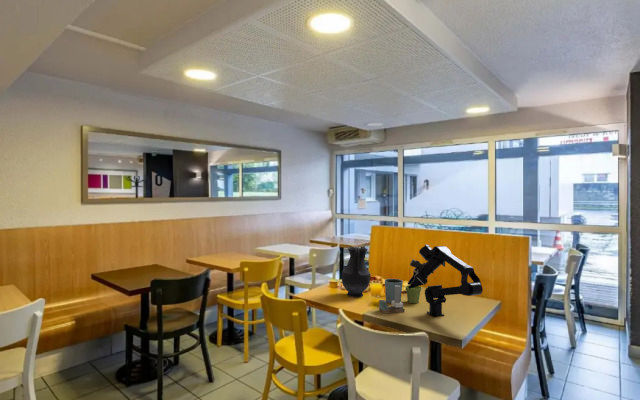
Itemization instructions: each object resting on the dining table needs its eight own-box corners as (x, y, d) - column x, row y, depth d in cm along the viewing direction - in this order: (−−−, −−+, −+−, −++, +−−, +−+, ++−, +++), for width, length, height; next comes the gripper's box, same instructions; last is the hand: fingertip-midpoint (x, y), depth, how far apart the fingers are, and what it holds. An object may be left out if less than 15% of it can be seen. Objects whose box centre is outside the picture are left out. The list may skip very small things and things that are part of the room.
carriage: (398, 304, 194) (399, 284, 194) (402, 307, 189) (403, 287, 189) (391, 304, 193) (392, 285, 193) (395, 307, 188) (396, 287, 188)
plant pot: (402, 302, 207) (403, 287, 207) (407, 299, 215) (407, 284, 215) (419, 305, 202) (419, 289, 202) (423, 301, 211) (423, 286, 211)
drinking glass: (404, 300, 211) (405, 280, 211) (398, 305, 202) (399, 283, 202) (387, 298, 216) (388, 277, 216) (381, 302, 207) (382, 280, 207)
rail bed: (400, 309, 194) (400, 297, 194) (404, 312, 189) (404, 300, 189) (379, 310, 191) (379, 298, 191) (383, 313, 186) (383, 301, 186)
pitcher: (369, 292, 228) (370, 244, 228) (370, 301, 207) (372, 248, 207) (341, 291, 230) (342, 243, 230) (340, 299, 209) (341, 247, 209)
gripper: (418, 252, 198) (397, 271, 200) (421, 256, 180) (397, 277, 182) (433, 267, 197) (411, 286, 199) (437, 273, 178) (413, 294, 180)
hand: (408, 286), depth 190 cm, fingers open, 9 cm apart
